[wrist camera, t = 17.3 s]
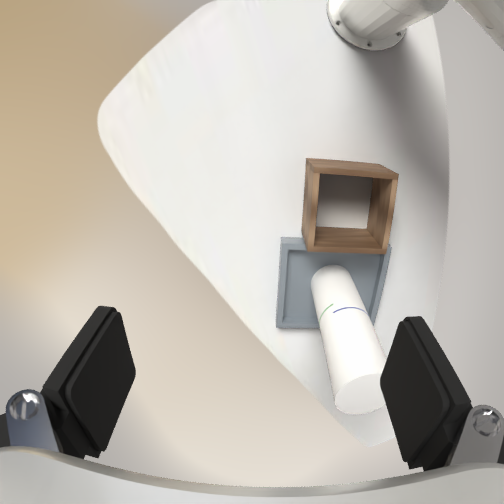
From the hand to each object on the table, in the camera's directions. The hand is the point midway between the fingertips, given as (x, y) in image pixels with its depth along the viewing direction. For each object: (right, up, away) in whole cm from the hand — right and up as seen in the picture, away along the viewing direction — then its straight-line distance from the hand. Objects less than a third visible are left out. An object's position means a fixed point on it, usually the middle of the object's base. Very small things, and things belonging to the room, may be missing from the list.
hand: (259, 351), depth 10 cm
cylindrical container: (+13, -2, +44) cm, 46 cm away
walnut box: (+14, +12, +38) cm, 42 cm away
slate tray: (+13, -2, +45) cm, 47 cm away
